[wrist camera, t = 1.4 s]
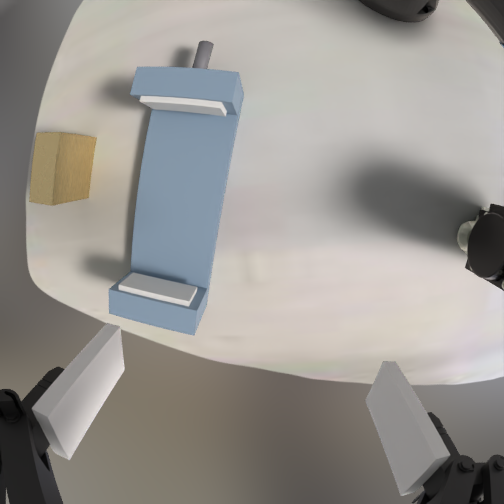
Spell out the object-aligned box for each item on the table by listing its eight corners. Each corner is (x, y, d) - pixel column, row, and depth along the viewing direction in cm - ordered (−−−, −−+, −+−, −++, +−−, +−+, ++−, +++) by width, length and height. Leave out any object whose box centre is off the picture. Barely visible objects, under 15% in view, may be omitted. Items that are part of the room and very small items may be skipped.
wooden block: (74, 136, 31) (36, 132, 23) (96, 137, 31) (60, 132, 23) (67, 194, 33) (29, 201, 26) (88, 197, 33) (51, 205, 26)
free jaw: (167, 46, 26) (150, 25, 21) (251, 52, 27) (249, 28, 21) (150, 111, 29) (128, 100, 23) (236, 120, 29) (230, 108, 23)
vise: (162, 86, 29) (138, 67, 22) (243, 94, 30) (239, 73, 22) (134, 288, 36) (109, 313, 29) (206, 305, 36) (194, 335, 29)
